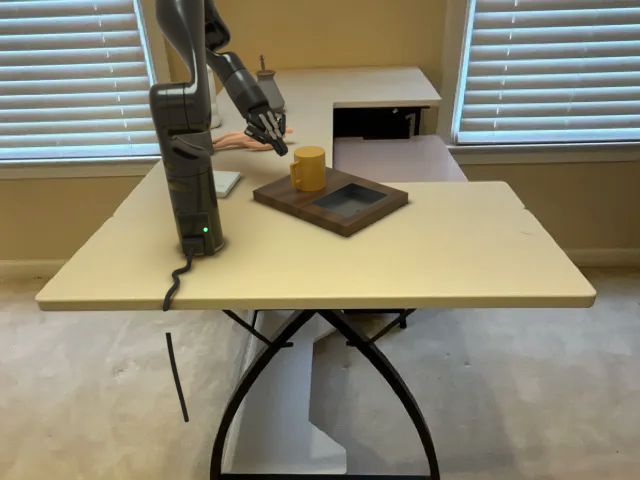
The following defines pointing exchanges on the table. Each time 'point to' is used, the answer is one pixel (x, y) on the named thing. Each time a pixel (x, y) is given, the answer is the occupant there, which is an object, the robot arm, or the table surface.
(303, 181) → the mug
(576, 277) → the table surface
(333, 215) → the counter
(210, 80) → the water bottle
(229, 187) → the hard drive
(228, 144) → the male figurine
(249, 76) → the robot arm
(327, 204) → the sink
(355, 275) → the table surface
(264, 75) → the coffee pot
